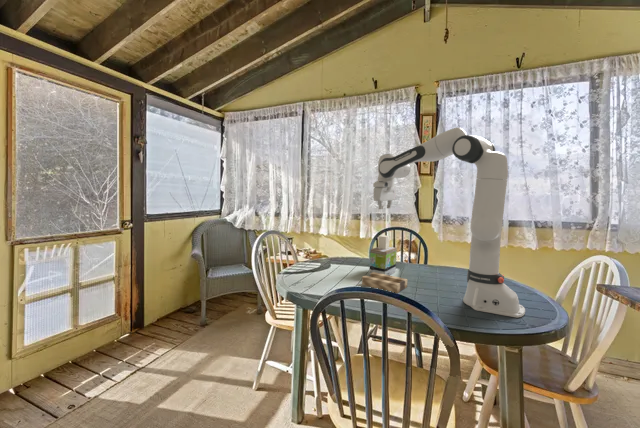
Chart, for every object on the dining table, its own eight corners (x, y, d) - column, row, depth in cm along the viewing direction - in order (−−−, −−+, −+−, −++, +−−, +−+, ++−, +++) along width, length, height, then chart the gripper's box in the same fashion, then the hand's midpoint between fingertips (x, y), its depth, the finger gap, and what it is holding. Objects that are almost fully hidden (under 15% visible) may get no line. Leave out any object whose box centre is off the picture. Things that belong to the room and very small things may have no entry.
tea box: (385, 278, 162) (386, 251, 161) (368, 275, 168) (369, 249, 167) (396, 272, 174) (397, 247, 173) (380, 269, 180) (380, 245, 179)
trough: (407, 287, 148) (407, 279, 148) (397, 293, 140) (397, 285, 139) (373, 279, 160) (373, 272, 160) (361, 284, 151) (362, 276, 151)
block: (389, 248, 170) (389, 235, 170) (385, 249, 167) (386, 237, 166) (382, 247, 173) (382, 235, 172) (378, 248, 169) (378, 236, 169)
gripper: (388, 184, 177) (388, 207, 178) (371, 183, 161) (370, 209, 162) (398, 184, 173) (398, 208, 174) (382, 183, 157) (381, 210, 158)
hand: (384, 208), depth 168 cm, fingers open, 8 cm apart
